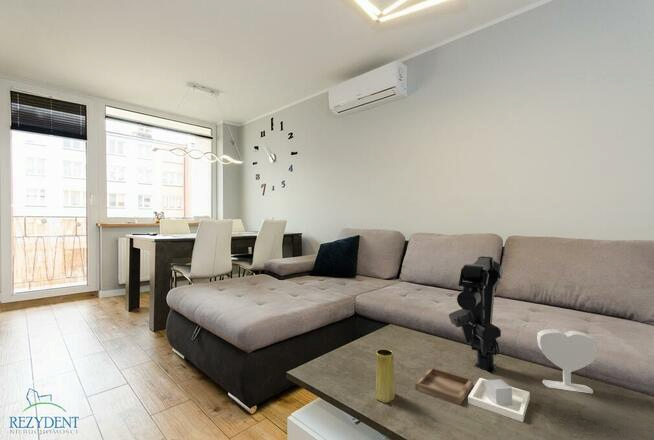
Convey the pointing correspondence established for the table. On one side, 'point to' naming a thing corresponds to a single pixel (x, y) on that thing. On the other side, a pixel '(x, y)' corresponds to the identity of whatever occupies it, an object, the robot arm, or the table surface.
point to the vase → (384, 375)
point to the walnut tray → (444, 385)
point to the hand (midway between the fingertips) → (475, 348)
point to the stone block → (499, 392)
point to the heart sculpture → (567, 355)
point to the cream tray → (512, 411)
